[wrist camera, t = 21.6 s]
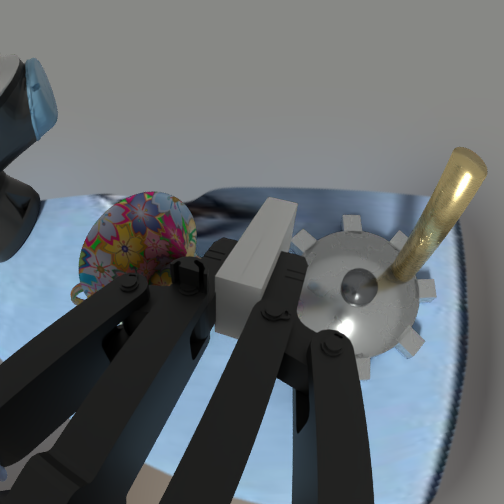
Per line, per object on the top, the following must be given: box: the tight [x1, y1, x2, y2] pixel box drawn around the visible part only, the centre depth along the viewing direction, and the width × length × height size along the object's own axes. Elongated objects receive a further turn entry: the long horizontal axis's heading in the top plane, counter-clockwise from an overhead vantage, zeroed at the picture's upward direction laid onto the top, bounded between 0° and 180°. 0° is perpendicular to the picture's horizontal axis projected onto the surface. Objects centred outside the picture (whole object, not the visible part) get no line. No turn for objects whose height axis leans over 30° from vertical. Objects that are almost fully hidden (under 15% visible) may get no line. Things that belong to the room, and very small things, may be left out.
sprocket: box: [290, 147, 487, 380], centre depth 18 cm, size 15×15×16 cm
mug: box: [71, 192, 201, 305], centre depth 23 cm, size 12×9×11 cm
